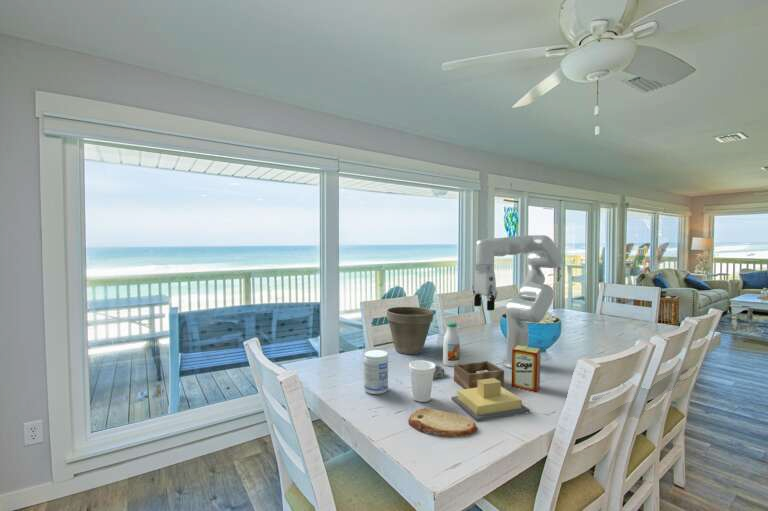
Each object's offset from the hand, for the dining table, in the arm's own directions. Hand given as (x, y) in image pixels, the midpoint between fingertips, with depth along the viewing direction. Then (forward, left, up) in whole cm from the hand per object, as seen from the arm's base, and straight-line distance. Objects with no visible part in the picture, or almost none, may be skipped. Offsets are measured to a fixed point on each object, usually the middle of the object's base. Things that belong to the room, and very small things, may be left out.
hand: (483, 308), depth 156 cm
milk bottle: (+5, -19, -31) cm, 36 cm away
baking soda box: (-11, +14, -31) cm, 35 cm away
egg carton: (+20, -9, -31) cm, 38 cm away
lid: (+13, +24, -29) cm, 40 cm away
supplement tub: (+48, -1, -31) cm, 57 cm away
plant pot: (+16, -45, -31) cm, 57 cm away
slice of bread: (+36, +31, -31) cm, 57 cm away
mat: (+13, +24, -30) cm, 41 cm away
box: (+6, +6, -30) cm, 31 cm away
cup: (+34, +12, -31) cm, 47 cm away
